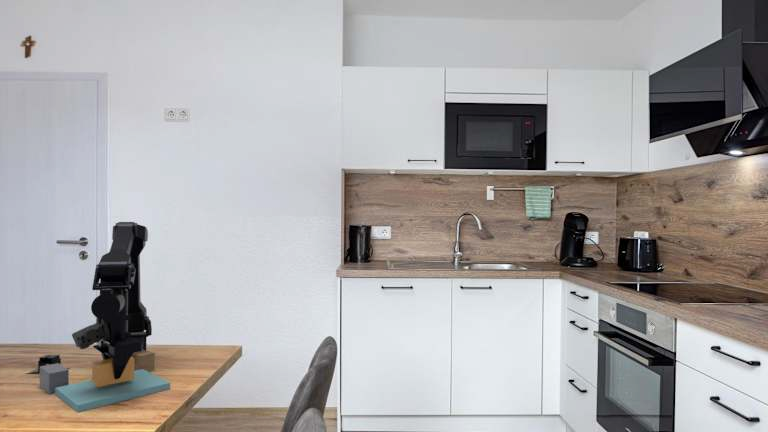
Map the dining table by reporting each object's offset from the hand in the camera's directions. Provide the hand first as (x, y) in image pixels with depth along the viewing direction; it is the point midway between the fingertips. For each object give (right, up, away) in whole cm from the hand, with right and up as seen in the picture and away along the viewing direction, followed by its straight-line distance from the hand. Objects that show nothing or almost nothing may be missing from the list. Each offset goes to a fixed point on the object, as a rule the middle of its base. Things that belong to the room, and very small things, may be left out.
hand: (113, 376), depth 118 cm
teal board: (0, -4, 0) cm, 4 cm away
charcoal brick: (-16, -4, +2) cm, 16 cm away
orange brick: (0, -1, 0) cm, 1 cm away
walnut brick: (-2, -4, +17) cm, 17 cm away
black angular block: (-26, -4, +15) cm, 30 cm away
